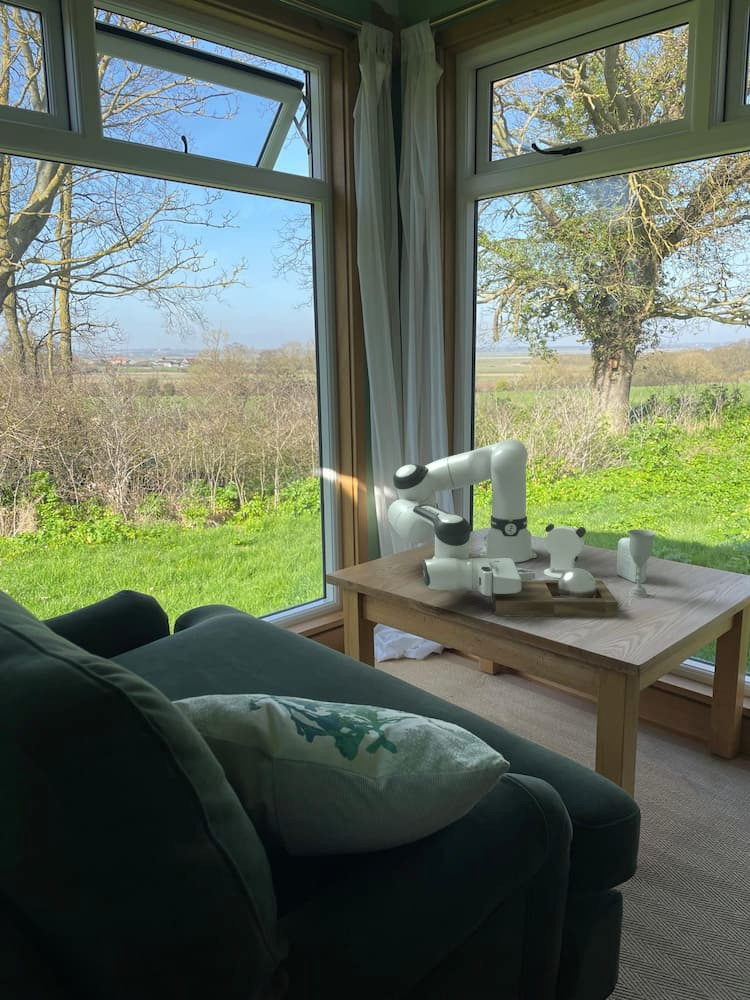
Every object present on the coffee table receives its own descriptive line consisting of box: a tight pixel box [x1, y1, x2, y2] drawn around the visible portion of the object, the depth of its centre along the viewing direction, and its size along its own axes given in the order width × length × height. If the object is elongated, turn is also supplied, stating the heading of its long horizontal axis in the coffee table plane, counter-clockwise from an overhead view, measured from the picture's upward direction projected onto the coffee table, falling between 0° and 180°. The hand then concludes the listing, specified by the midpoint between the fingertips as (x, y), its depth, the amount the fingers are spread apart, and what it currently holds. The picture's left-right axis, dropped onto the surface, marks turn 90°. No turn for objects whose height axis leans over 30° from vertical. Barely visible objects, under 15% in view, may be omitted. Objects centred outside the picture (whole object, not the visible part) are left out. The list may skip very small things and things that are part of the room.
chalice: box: [627, 529, 656, 599], centre depth 199 cm, size 7×7×18 cm
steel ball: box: [558, 567, 596, 598], centre depth 193 cm, size 10×10×10 cm
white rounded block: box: [616, 537, 648, 584], centre depth 214 cm, size 10×4×12 cm, turn 17°
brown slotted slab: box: [490, 579, 619, 617], centre depth 194 cm, size 18×31×4 cm, turn 86°
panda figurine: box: [543, 523, 587, 580], centre depth 220 cm, size 12×11×15 cm
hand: (534, 574), depth 193 cm, fingers closed
